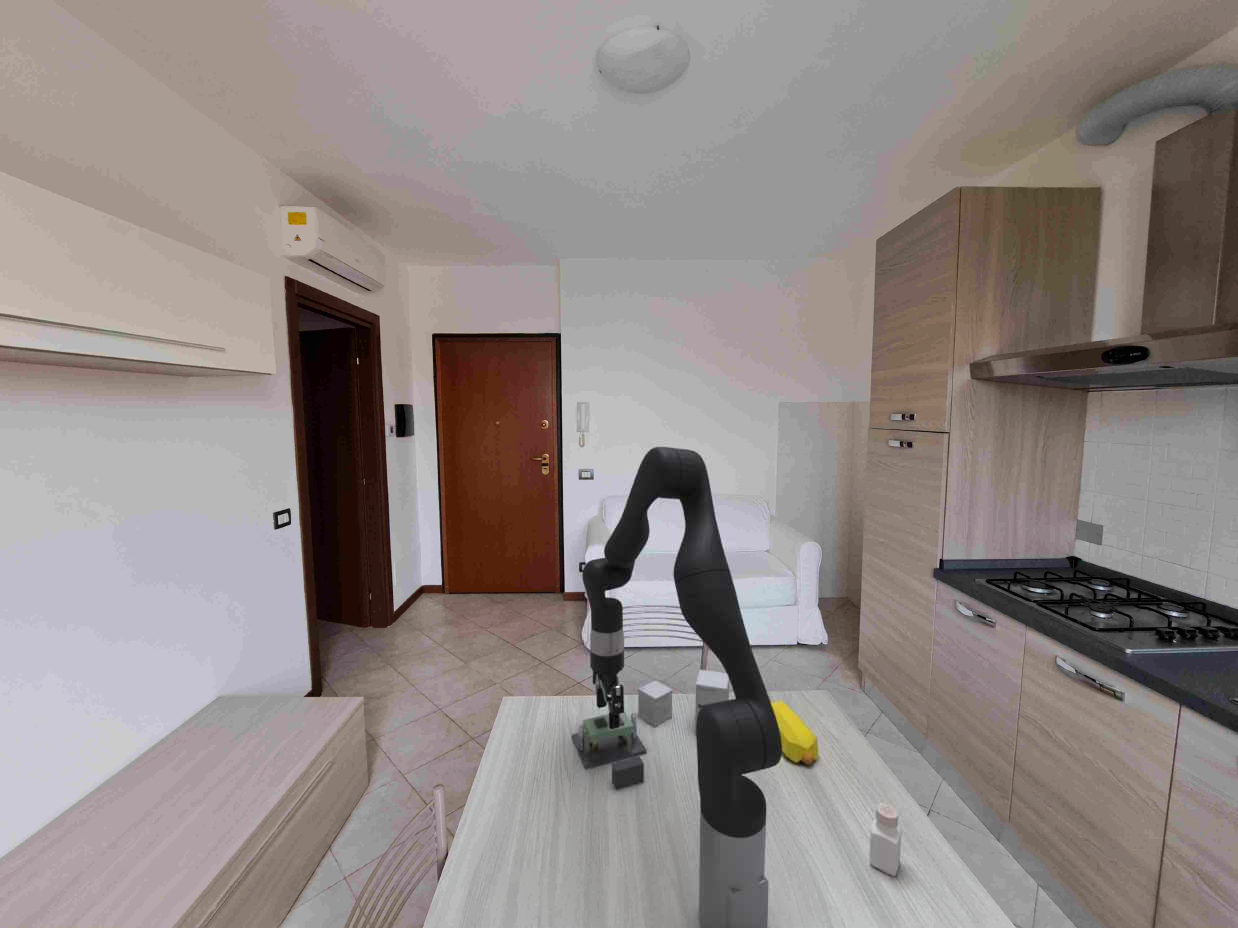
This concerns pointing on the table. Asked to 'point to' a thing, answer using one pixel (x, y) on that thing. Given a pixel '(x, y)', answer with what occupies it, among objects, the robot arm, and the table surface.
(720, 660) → the robot arm
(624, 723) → the board
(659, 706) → the product box
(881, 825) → the salt shaker
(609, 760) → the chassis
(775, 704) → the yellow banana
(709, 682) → the supplement box
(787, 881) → the table surface
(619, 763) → the block
